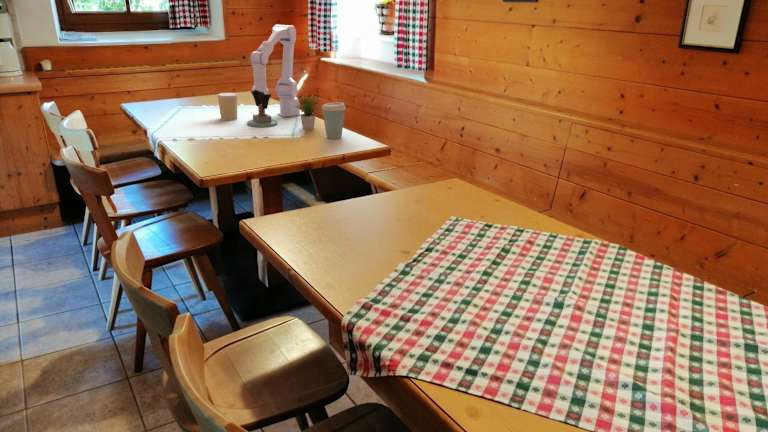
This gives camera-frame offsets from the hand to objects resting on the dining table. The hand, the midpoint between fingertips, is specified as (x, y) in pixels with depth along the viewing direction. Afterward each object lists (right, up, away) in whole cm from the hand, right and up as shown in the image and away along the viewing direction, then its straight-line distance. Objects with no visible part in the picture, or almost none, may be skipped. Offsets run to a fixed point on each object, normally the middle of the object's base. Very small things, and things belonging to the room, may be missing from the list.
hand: (261, 107), depth 267 cm
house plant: (+23, -11, -4) cm, 26 cm away
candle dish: (0, -7, +3) cm, 8 cm away
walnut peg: (0, -7, +3) cm, 7 cm away
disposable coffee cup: (+36, -17, -17) cm, 43 cm away
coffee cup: (-19, -4, +12) cm, 22 cm away
